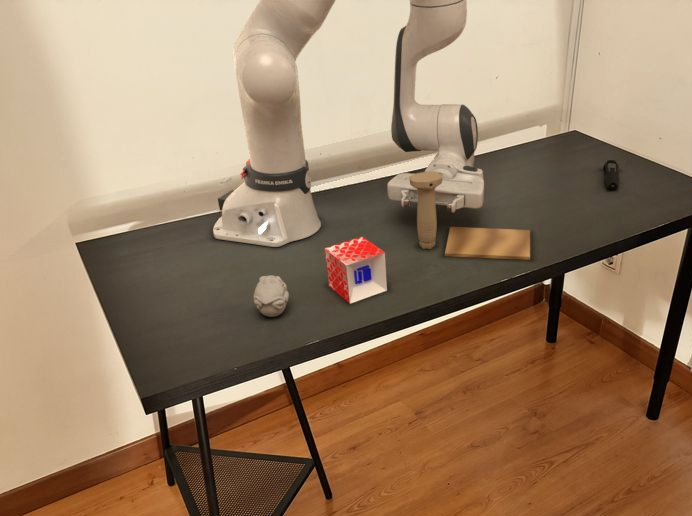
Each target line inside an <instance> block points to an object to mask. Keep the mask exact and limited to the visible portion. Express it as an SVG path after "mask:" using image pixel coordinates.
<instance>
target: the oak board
mask: <svg viewBox="0 0 692 516" xmlns="http://www.w3.org/2000/svg"><path fill="white" fill-rule="evenodd" d="M444 257H450V258H451V257H452V258H474V259H496V260H497V259H498V260H499V259H500V260H519V261H530V260H531V230H530V229H517V228H516V229H515V228H513V229H512V228H491V227H490V228H489V227H463V226H450V227H449V231H448V237H447V241H446V246H445V251H444Z"/></svg>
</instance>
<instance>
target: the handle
mask: <svg viewBox="0 0 692 516" xmlns="http://www.w3.org/2000/svg"><path fill="white" fill-rule="evenodd" d="M413 174H414V175H412V176H410V177H409V180H410V185H411V186H413V187H414V188H416V189H417V191H418V203H417V207H416V208H417V210H416V227H417V228H416V230H417V235H418V245H419V247H421V249H423V250H432V249H433V248H434V247H435V246H436V241H437V240H436V238H437V231H438V229H437V228H438V219H437V217H438V216H437V207H436V206H437V205H435V188H436V187H437V186H438V185H440V184H441V183H442V175H441V174H440V173H438V172H425V171H423V172H417V173H413Z"/></svg>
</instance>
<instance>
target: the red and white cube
mask: <svg viewBox="0 0 692 516" xmlns="http://www.w3.org/2000/svg"><path fill="white" fill-rule="evenodd" d="M324 256H325V264H326V274H327V282H328V287H329V288H330V289H332V290H333V291H334V292H335V293H336V294H338V295H339V296H340V297H341V298H343V300H344V301H346V302H347V303H348V304H350V305H351V304H353V303H357V302H359V301H362V300H364V299H367V298H370V297H372V296H375V295H378V294H382V293H384V292H387V291H388V283H387V267H386V252H385V251H384V250H382V249H381V248H379V247H378V246H377V245H375V244H374V243H372V242H371V241H370V240H368V239H367V238H365V237H364V236H359V237H356V238H353V239H349V240H346V241H343V242H340V243H337V244H334V245H330V246H328V247H324Z"/></svg>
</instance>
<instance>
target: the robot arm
mask: <svg viewBox="0 0 692 516" xmlns="http://www.w3.org/2000/svg"><path fill="white" fill-rule="evenodd" d="M335 2H336V0H259V2H258V3H257V5H256V6H255V8H254V10H253V11H252V13H251V14H250V16H249V18H248V20H246V23H245V24H244V26H243V28H242V30H241V31H240V33H239V34H238V37H237V38H236V40H235V42H234V45H233V49H232V60H233V66H234V67H233V68H234V73H235V78H236V84H237V88H238V95H239V101H240V102H239V103H240V108H241V114H242V119H243V127H244V133H245V138H246V145H247V150H248V157H249V159H248V160H246V162H245V165H244V167H243V168H242V170H241V173H240V179H241V180H243V179H244V182H243V183H241V184H240V185H239V186H238V187H237V188H235V189H234V190H233V189H231V190H230V191H227V192H226V193H224V194H222V196H219V197H218V198H217V204H218V208H219V211H221V216H220V217H219V218H218V220H217V221H216V222H215V223H214V226H213V229H212V232H213V233H212V234H213V237H214V238H215V239H217V240H223V241H231V242H236V243H237V242H238V243H242V244H243V243H244V244H251V245H258V246H264V247H272V248H279V247H282V246H284V245H287V244H288V243H291V242H294V241H299V240H303V239H306V238H308V237H311V236H313V235H314V234H316V233H317V232H318V231H319V230H320V229H321V226H322V222H321V220H320V218H319V214H318V212H317V209H316V206H315V203H314V200H313V196H312V191H311V188H312V178H311V177H312V176H311V170H310V166H309V162H308V160H307V159H306V152H305V143H304V134H303V126H302V125H303V124H302V109H301V95H300V94H301V92H300V81H299V80H300V79H299V71H298V66H297V63H296V62H297V59H298V57H299V56H300V54H301V53H302V51H303V49H304V48H305V47H306V45H307V44H308V43H309V41H310V40H311V39H312V38H313V36H314V35H315V34H316V32H318V31H319V30H320V29H321V27H322V26H323V25H324V22H325V20H326V19H327V17H328V15H329V14H330V11H331V10H332V8H333V6H334V4H335ZM467 4H468V3H467V0H409V16H408V21H407V22H406V25H405V26H403V27H402V28H400V30H399V32H398V35H397V39H396V44H395V57H394V58H395V59H394V60H395V61H394V77H393V78H394V79H393V80H394V81H393V107H392V114H391V115H392V116H391V123H390V124H391V125H390V133H391V139H392V142H394V144H395V145H396V146H397V147H398V148H399V149H400V150H402V151H403V152H405V153H413V152H421V151H422V152H423V151H429V152H430V151H432V152H435V151H436V152H437V153H436V154H435V155H434V157H433V159H432V160H431V161H430V163H429V164H428V166H427V167H426V168H425V170H424V172H438V173H440V174H441V175H442V183H441V184H440V185H438V186H437V187H436V188H435V205H436V206H444V207H445V206H446V212H449V213H455V212H456V210H459V209H463V208H465V209H475V210H476V209H481V208H483V206H484V202H485V180H484V170H483V169H482V168H477V167H474V164H475V152H476V150H477V147H478V142H479V129H478V128H479V127H478V123H477V119H476V117H475V115H474V114H473V112H472V111H471V109H470V108H468V106H466V105H465V104H461V103H460V104H459V103H458V104H457V103H456V104H454V103H452V104H450V103H445V104H444V103H442V104H420V103H418V102H417V101H416V99H415V97H416V96H415V95H416V81H417V80H416V79H417V78H416V77H417V65H418V63H419V62H420V61H421V60H422V59H424V58H426V57H428V56H429V55H431V54H434V53H436V52H439V51H441V50H443V49H445V48H447V47H448V46H450V45H451V44H452V43H454V42H456V40H458V38H459V37H460V36H461V35H462V33H463V32H464V30H465V28H466V25H467V19H468V18H467V17H468V14H467V13H468V5H467ZM414 174H415V173H412V172H411V173H410V172H401V173H398V174H396V175H395V176H394V177H392V178H391V179H390V180H389V181H388V182H387V185H386V186H387V187H386V188H387V197H388V199H389V200H390V201H393V202H395V201H396V202H401V204H400V205H401V208H410V207H411V204H412V203H414V204H415V203H416V204H418V191H417V189H416V188H414V187H413V186H411V185H410V180H409V177H410V176H412V175H414Z"/></svg>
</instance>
